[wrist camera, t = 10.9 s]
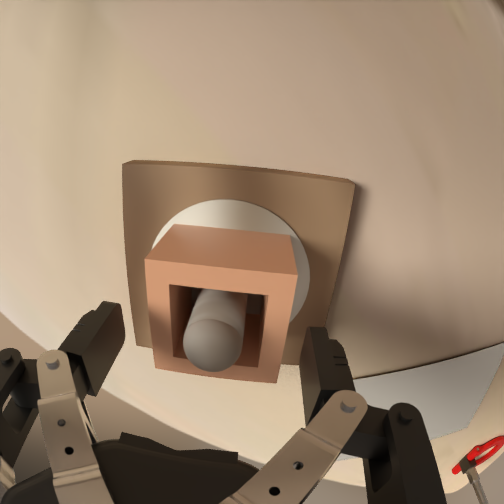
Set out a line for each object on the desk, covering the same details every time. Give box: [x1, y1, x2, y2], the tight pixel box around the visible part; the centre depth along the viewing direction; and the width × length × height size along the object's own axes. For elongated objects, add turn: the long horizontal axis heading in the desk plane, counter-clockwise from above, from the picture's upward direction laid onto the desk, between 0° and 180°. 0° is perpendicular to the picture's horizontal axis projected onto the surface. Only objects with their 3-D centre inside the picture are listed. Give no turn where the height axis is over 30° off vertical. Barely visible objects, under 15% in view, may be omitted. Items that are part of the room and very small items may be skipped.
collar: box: [144, 224, 298, 383], centre depth 15 cm, size 6×6×4 cm
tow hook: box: [452, 436, 504, 504], centre depth 24 cm, size 8×13×9 cm
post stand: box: [122, 160, 355, 372], centre depth 15 cm, size 12×12×8 cm
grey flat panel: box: [336, 343, 504, 461], centre depth 22 cm, size 23×25×1 cm
